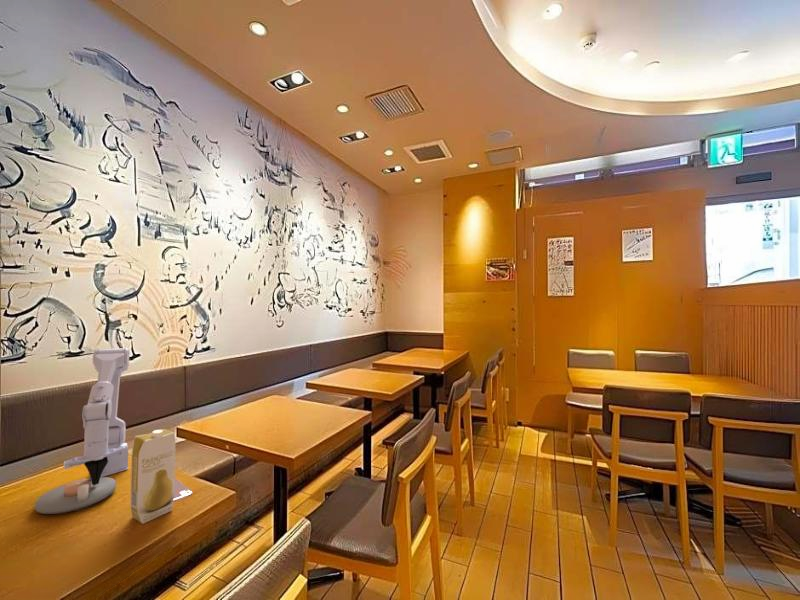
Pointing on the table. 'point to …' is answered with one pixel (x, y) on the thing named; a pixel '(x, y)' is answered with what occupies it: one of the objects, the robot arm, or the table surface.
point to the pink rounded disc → (75, 487)
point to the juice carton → (152, 475)
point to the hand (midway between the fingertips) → (95, 483)
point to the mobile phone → (180, 490)
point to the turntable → (85, 497)
